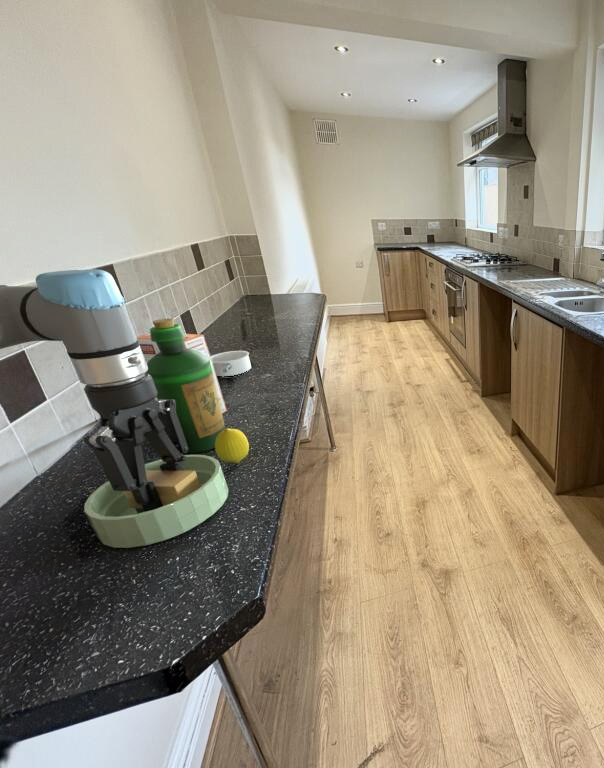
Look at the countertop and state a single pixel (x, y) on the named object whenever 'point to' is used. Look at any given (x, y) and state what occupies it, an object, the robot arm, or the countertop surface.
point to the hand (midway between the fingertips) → (169, 505)
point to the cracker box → (190, 342)
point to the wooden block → (168, 486)
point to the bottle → (186, 385)
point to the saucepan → (231, 363)
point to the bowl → (133, 529)
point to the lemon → (231, 445)
